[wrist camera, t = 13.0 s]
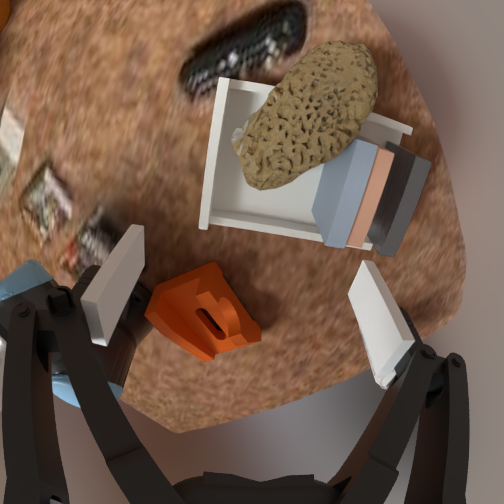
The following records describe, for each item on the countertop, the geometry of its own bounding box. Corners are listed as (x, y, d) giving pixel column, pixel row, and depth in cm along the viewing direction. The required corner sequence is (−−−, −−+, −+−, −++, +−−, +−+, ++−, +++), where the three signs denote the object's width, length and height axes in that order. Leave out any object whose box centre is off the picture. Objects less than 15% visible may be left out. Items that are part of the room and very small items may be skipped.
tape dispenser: (156, 284, 52) (144, 315, 45) (215, 259, 49) (208, 290, 42) (207, 343, 61) (202, 374, 53) (260, 327, 58) (261, 359, 50)
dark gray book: (359, 224, 43) (379, 254, 36) (387, 140, 36) (416, 156, 28) (373, 227, 43) (394, 257, 36) (401, 145, 36) (431, 162, 29)
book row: (311, 210, 43) (325, 245, 34) (333, 126, 36) (357, 139, 27) (341, 217, 43) (361, 252, 35) (366, 135, 36) (397, 152, 28)
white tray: (204, 211, 44) (198, 228, 39) (224, 78, 34) (219, 77, 29) (363, 239, 46) (374, 257, 42) (401, 123, 36) (420, 130, 31)
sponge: (283, 205, 36) (422, 120, 24) (236, 195, 31) (399, 81, 18) (256, 128, 40) (364, 45, 27) (213, 110, 35) (331, 8, 22)
